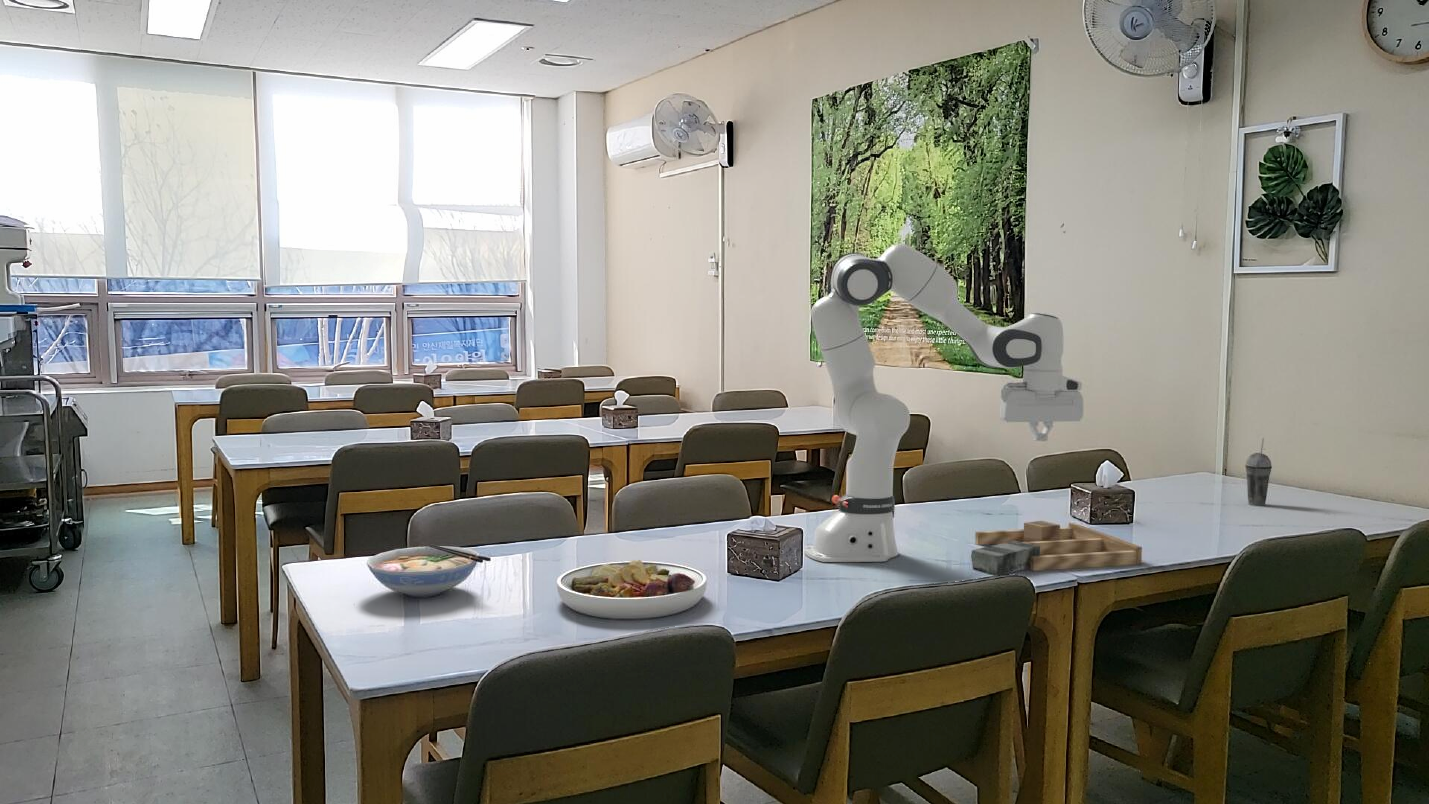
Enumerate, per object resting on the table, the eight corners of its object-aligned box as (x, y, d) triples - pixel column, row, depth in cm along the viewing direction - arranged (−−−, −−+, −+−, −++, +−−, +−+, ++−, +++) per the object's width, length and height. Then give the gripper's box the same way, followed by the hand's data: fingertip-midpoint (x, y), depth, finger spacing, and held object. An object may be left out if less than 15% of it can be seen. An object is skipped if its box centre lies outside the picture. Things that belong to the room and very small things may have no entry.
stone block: (966, 569, 248) (966, 546, 248) (1010, 561, 256) (1010, 539, 256) (996, 577, 241) (997, 553, 240) (1040, 568, 249) (1040, 545, 248)
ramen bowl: (344, 591, 227) (343, 553, 226) (442, 572, 243) (441, 536, 242) (404, 616, 209) (403, 574, 208) (505, 594, 225) (504, 555, 224)
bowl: (525, 608, 216) (525, 569, 215) (620, 577, 241) (620, 542, 240) (646, 633, 199) (646, 591, 198) (734, 597, 224) (735, 559, 223)
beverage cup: (1237, 503, 329) (1240, 437, 327) (1257, 501, 331) (1260, 436, 329) (1256, 507, 322) (1259, 440, 320) (1276, 506, 324) (1279, 439, 322)
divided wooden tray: (1033, 570, 245) (1034, 553, 245) (975, 543, 273) (975, 527, 273) (1141, 564, 252) (1142, 547, 251) (1073, 538, 279) (1074, 522, 279)
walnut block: (1041, 551, 265) (1041, 527, 264) (1023, 546, 270) (1024, 522, 270) (1059, 548, 268) (1060, 524, 267) (1041, 544, 273) (1041, 520, 272)
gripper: (1008, 383, 252) (1006, 442, 253) (1088, 383, 256) (1085, 441, 257) (995, 381, 258) (993, 439, 259) (1073, 381, 262) (1071, 438, 263)
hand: (1040, 440), depth 258 cm, fingers closed
